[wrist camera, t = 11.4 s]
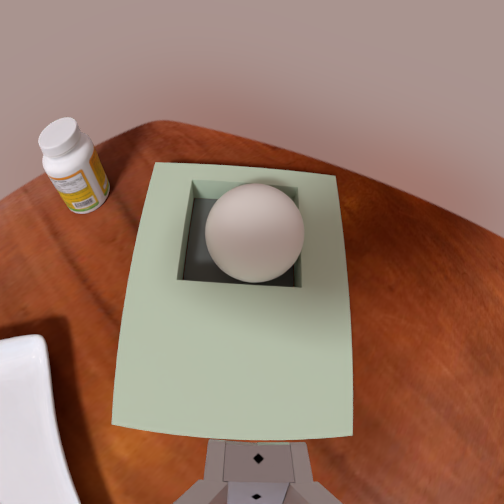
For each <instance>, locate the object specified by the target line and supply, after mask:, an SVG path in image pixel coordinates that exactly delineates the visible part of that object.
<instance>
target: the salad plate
mask: <svg viewBox="0 0 504 504" xmlns="http://www.w3.org/2000/svg"><path fill="white" fill-rule="evenodd" d="M0 503H1V504H81V502H80V499H79V497H78V494H77V491H76V489H75V486H74V483H73V480H72V477H71V474H70V471H69V468H68V465H67V461H66V458H65V454H64V450H63V446H62V442H61V438H60V434H59V429H58V424H57V418H56V412H55V405H54V397H53V389H52V380H51V370H50V362H49V354H48V347H47V344H46V341H45V339H44V337H43V336H41V335H38V334H30V335H23V336H17V337H12V338H7V339H2V340H0Z"/></svg>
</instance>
